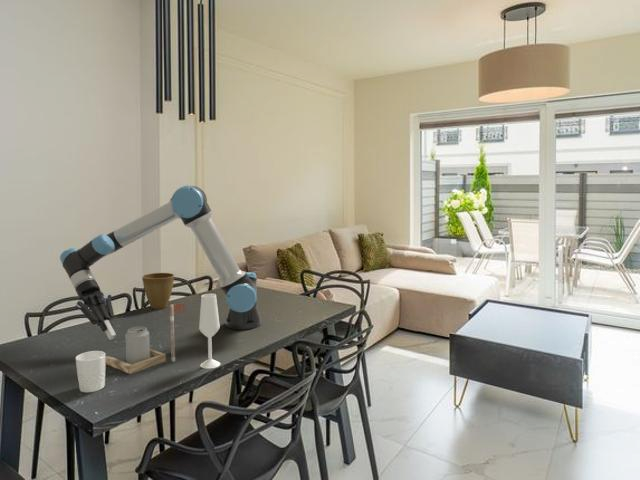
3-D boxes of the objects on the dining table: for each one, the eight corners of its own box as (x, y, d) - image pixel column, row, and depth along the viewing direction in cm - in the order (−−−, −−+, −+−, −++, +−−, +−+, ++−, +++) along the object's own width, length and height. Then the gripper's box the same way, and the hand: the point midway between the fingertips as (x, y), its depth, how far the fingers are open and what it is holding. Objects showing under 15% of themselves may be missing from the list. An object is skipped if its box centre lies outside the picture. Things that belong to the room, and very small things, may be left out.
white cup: (98, 379, 139) (96, 348, 138) (112, 386, 135) (110, 354, 134) (72, 389, 133) (70, 356, 132) (86, 396, 129) (84, 362, 127)
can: (143, 368, 149) (141, 333, 147) (122, 366, 150) (120, 331, 148) (154, 359, 156) (153, 326, 154) (134, 358, 157) (132, 324, 155)
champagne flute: (222, 360, 155) (220, 293, 152) (218, 368, 149) (216, 298, 146) (202, 360, 155) (200, 293, 152) (198, 368, 148) (196, 298, 145)
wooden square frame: (186, 357, 158) (184, 302, 155) (125, 380, 139) (122, 317, 137) (147, 343, 171) (145, 292, 168) (87, 363, 152) (84, 305, 150)
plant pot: (156, 313, 212) (155, 279, 210) (136, 308, 219) (135, 276, 217) (181, 305, 224) (180, 274, 222) (162, 301, 232) (160, 271, 230)
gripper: (98, 287, 174) (125, 337, 167) (64, 294, 164) (91, 348, 156) (105, 276, 171) (133, 326, 163) (70, 281, 160) (98, 336, 153)
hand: (112, 337), depth 160 cm, fingers closed
